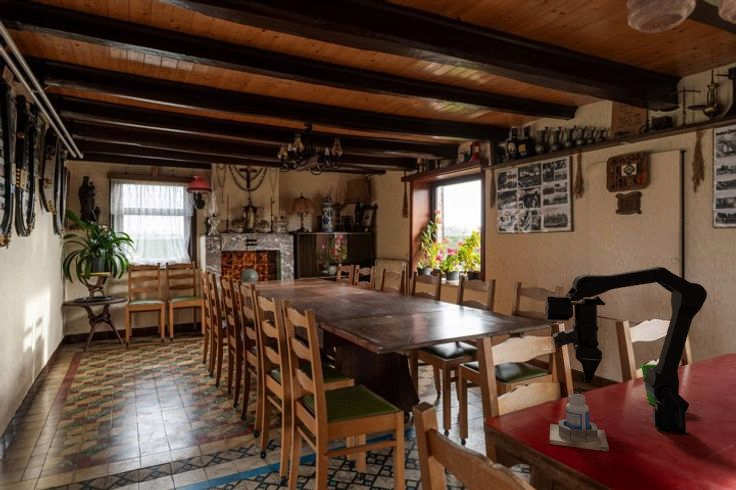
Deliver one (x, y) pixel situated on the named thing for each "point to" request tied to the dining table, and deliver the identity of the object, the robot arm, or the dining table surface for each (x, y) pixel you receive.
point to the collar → (578, 436)
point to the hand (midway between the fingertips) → (586, 378)
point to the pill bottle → (577, 412)
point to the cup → (644, 371)
